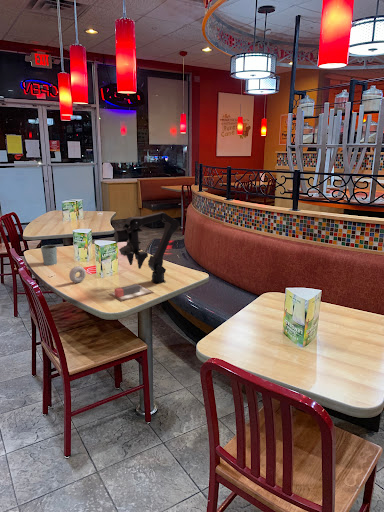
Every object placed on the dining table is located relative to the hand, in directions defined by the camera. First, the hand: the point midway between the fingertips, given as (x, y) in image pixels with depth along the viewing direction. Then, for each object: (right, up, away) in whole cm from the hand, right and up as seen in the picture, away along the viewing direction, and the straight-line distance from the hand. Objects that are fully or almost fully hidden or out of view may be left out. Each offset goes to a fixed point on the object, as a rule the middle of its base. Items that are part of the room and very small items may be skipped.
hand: (135, 266), depth 215 cm
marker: (-2, -14, -9) cm, 17 cm away
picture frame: (-1, -14, -8) cm, 16 cm away
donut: (-35, -10, +9) cm, 38 cm away
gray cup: (-65, +1, +46) cm, 79 cm away
